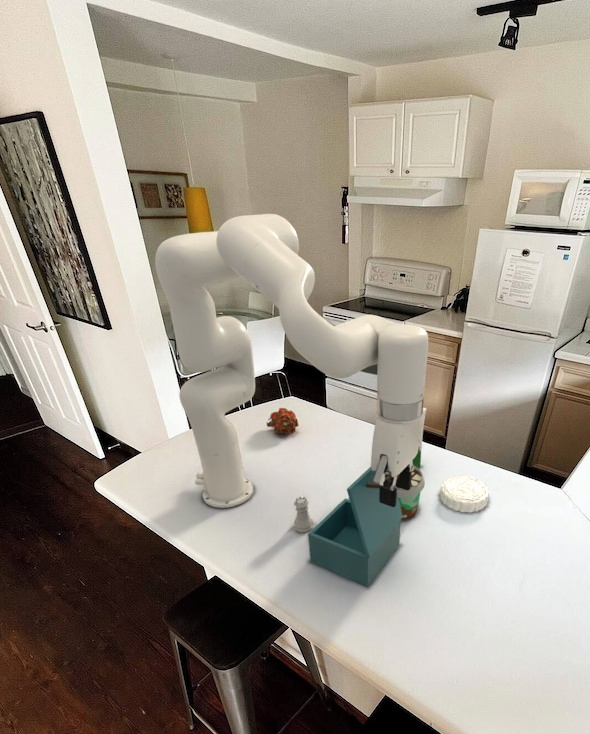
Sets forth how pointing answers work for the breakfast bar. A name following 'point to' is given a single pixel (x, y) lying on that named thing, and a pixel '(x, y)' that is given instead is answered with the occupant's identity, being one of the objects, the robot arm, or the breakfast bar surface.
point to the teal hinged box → (348, 546)
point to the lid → (372, 511)
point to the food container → (411, 495)
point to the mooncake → (464, 494)
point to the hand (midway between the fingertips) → (395, 495)
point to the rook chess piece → (302, 515)
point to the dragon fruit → (283, 421)
